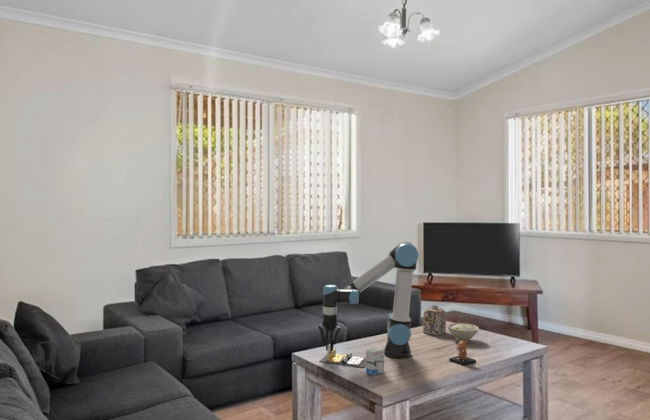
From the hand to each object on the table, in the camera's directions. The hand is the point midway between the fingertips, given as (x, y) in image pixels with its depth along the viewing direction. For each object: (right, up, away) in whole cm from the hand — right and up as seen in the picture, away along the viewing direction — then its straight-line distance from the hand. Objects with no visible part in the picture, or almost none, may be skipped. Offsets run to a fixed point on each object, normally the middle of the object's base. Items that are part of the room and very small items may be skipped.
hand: (329, 356), depth 266 cm
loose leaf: (+5, -1, -2) cm, 6 cm away
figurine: (+73, -3, -2) cm, 73 cm away
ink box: (+23, -2, -20) cm, 30 cm away
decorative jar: (+70, -2, +57) cm, 90 cm away
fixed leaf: (+13, -1, -5) cm, 13 cm away
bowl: (+84, -2, +38) cm, 92 cm away
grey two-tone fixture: (+8, -2, -3) cm, 9 cm away
